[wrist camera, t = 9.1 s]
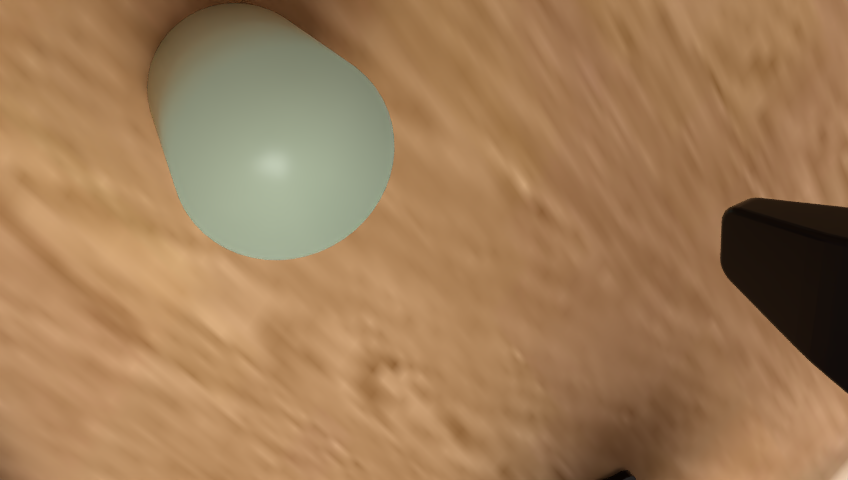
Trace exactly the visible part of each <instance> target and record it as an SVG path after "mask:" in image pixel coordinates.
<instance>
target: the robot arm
mask: <svg viewBox="0 0 848 480" xmlns="http://www.w3.org/2000/svg"><path fill="white" fill-rule="evenodd" d="M720 262H721V266H722V269H723V271H724V273H725V275H726V276H727V278H728V279H729V280H730V281H731V282H732V283H733V284H734V285H735V286H736V287H737V288H738V289H739V290H740V291H741V292H742V293H743V294H744V295H745V296H746V297H747V298H748V299H749V300H750V301H751V302H752V303H753V304H754V305H755V306H756V308H757V309H758V310H759V311H760V312H761V313H762V314H763V315H764V316H765V317H766V318H767V319H768V320H769V321H770V322H771V323H772V324H773V325H774V326H775V327H776V328H777V329H778V330H779V331H780V332H781V333H782V334H783V335H784V336H785V337H786V338H787V339H788V340H789V341H790V342H791V343H792V344H793V345H794V346H795V347H796V348H797V349H798V350H799V351H800V352H801V353H802V354H803V355H804V356H805V357H806V358H807V359H808V360H809V361H810V362H811V363H813V364H814V365H815V366H816V367H817V368H818V369H819V370H821V371H822V372H823V373H824V374H825V375H826V376H827V377H829V378H830V379H831V380H832V381H833V382H835V383H836V384H837V385H838V386H839V387H841V388H842V389H843V390H844V391H845V392H846V393H848V208H847V207H838V206H829V205H820V204H810V203H801V202H792V201H783V200H774V199H765V198H750V199H747V200H745V201H743V202H741V203H738V204H736V205H734V206H732V207H730V208H728V209H727V210H726V211H725V213H724V215H723V217H722V226H721V253H720ZM607 480H636V478H635V477H634V476H633V475H632V474H631V472H630V471H628V470H624V471H621V472H620V473H618V474H616V475H614V476H612V477H610V478H608V479H607Z"/></svg>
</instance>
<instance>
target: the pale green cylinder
mask: <svg viewBox="0 0 848 480" xmlns="http://www.w3.org/2000/svg"><path fill="white" fill-rule="evenodd" d="M147 94H148V103H149V108H150V112H151V115H152V118H153V121H154V124H155V127H156V130H157V133H158V136H159V139H160V142H161V145H162V148H163V152H164V155H165V158H166V161H167V164H168V167H169V170H170V173H171V176H172V179H173V182H174V185H175V188H176V191H177V194H178V197H179V199H180V201H181V203H182V205H183V207H184V209H185V211H186V213H187V214H188V215H189V217H190V218H191V220H192V221H193V222H194V224H195V225H196V226H197V227H198V228H199V229H200V230H201V231H202V232H203V233H204V234H205V235H207V236H208V237H209V238H211V239H212V240H213V241H214V242H216V243H218V244H219V245H221V246H223V247H224V248H226V249H228V250H231V251H233V252H235V253H238V254H241V255H244V256H248V257H252V258H258V259H264V260H286V259H295V258H300V257H305V256H308V255H311V254H314V253H317V252H320V251H322V250H324V249H327V248H329V247H331V246H333V245H334V244H336V243H338V242H339V241H341V240H343V239H344V238H346V237H347V236H348V235H349V234H351V233H352V232H353V231H355V230H356V229H357V228H358V227H359V226H360V225H361V224H362V223H363V222H364V221H365V220H366V218H367V217H368V216H369V215H370V214H371V212H372V211H373V210H374V208H375V207H376V205H377V203H378V202H379V200H380V198H381V196H382V194H383V193H384V191H385V189H386V186H387V183H388V180H389V178H390V174H391V170H392V165H393V158H394V134H393V127H392V122H391V119H390V116H389V112H388V110H387V107H386V105H385V103H384V101H383V99H382V97H381V96H380V94H379V92H378V91H377V89H376V88H375V86H374V85H373V84H372V83H371V82H370V80H369V79H368V78H367V77H366V76H365V75H364V74H363V73H362V72H360V71H359V70H358V69H357V68H356V67H355V66H353V65H352V64H350V63H349V62H347V61H346V60H344V59H343V58H342V57H340V56H339V55H337V54H336V53H334V52H333V51H332V50H330V49H329V48H327V47H326V46H324V45H323V44H322V43H320V42H319V41H317V40H316V39H314V38H313V37H312V36H310V35H309V34H307V33H306V32H304V31H303V30H301V29H300V28H299V27H297V26H296V25H294V24H293V23H291V22H290V21H289V20H287V19H286V18H284V17H283V16H281V15H279V14H277V13H275V12H273V11H271V10H269V9H266V8H263V7H260V6H256V5H251V4H243V3H227V4H219V5H215V6H210V7H207V8H204V9H202V10H199V11H197V12H195V13H193V14H191V15H189V16H188V17H186V18H185V19H183V20H182V21H181V22H179V23H178V24H177V25H176V26H175V27H174V28H173V29H172V30H171V31H169V33H168V34H167V35H166V36H165V38H164V39H163V40H162V42H161V43H160V45H159V47H158V49H157V50H156V52H155V55H154V57H153V60H152V62H151V66H150V70H149V74H148V83H147Z"/></svg>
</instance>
